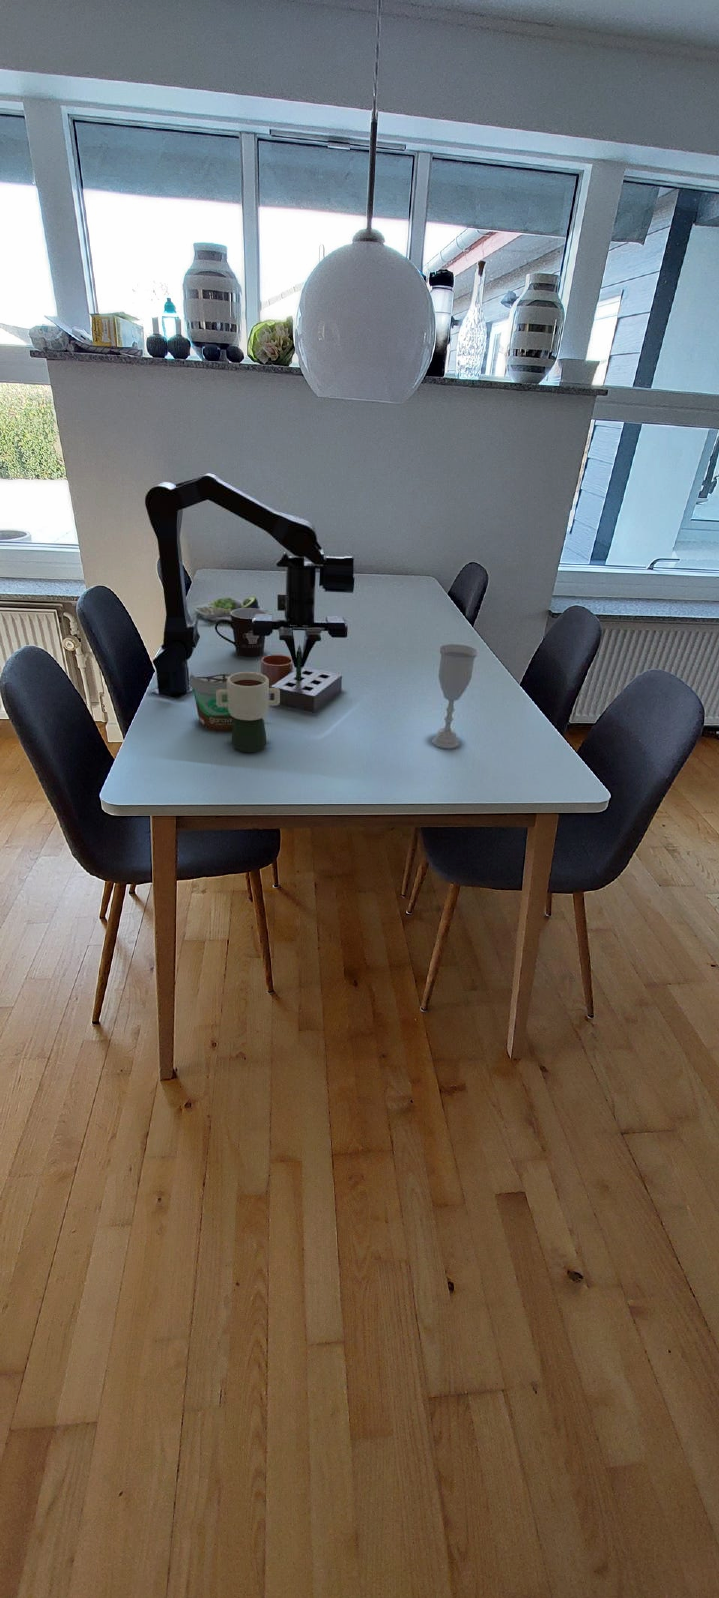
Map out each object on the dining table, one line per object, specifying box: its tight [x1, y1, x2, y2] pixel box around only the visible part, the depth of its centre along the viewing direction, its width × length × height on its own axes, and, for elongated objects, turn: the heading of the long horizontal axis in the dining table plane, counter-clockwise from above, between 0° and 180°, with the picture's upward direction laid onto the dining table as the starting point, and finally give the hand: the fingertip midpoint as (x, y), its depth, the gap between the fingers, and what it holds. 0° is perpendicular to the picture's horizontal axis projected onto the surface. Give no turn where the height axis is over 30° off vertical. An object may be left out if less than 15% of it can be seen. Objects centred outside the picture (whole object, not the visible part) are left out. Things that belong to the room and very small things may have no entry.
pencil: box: [295, 644, 303, 681], centre depth 142 cm, size 1×1×10 cm
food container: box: [189, 670, 254, 733], centre depth 127 cm, size 12×6×10 cm, turn 105°
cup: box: [260, 654, 294, 687], centre depth 149 cm, size 7×7×5 cm
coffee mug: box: [214, 608, 269, 658], centre depth 162 cm, size 12×9×10 cm
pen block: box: [270, 666, 343, 714], centre depth 143 cm, size 10×14×4 cm
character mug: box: [216, 671, 280, 753], centre depth 120 cm, size 11×7×13 cm, turn 104°
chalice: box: [432, 643, 479, 749], centre depth 126 cm, size 7×7×18 cm
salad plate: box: [194, 596, 269, 623], centre depth 189 cm, size 19×18×5 cm
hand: (298, 666), depth 142 cm, fingers closed on pencil, 1 cm apart
